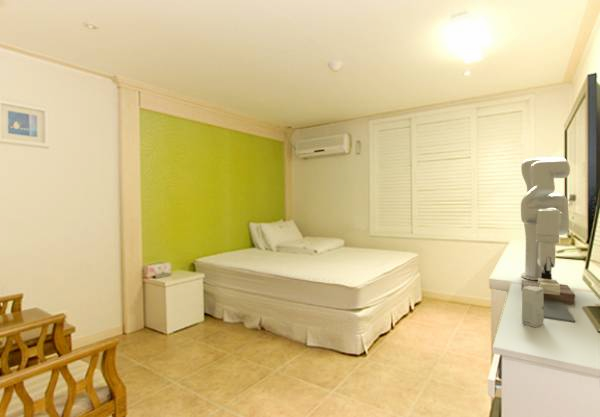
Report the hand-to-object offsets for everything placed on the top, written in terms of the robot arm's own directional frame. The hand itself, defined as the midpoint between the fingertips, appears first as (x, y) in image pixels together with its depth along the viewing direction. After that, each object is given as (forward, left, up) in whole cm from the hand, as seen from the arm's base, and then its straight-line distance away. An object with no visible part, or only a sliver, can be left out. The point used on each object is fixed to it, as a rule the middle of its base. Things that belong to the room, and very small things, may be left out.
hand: (546, 282), depth 135 cm
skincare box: (+36, -8, -6) cm, 37 cm away
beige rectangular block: (+6, 0, -2) cm, 7 cm away
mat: (+18, -1, -6) cm, 19 cm away
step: (+1, 0, -6) cm, 6 cm away
